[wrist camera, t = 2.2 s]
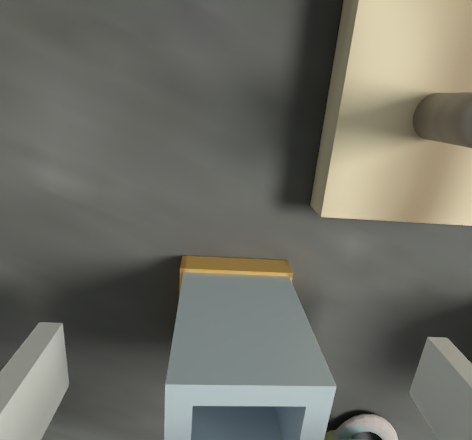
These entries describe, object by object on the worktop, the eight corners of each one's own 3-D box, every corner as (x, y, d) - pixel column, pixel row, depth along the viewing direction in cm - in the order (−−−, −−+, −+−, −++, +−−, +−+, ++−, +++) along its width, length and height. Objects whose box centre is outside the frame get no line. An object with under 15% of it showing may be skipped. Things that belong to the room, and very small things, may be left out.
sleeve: (179, 342, 17) (158, 504, 10) (182, 255, 15) (159, 379, 8) (274, 344, 17) (314, 502, 10) (287, 260, 15) (343, 382, 9)
